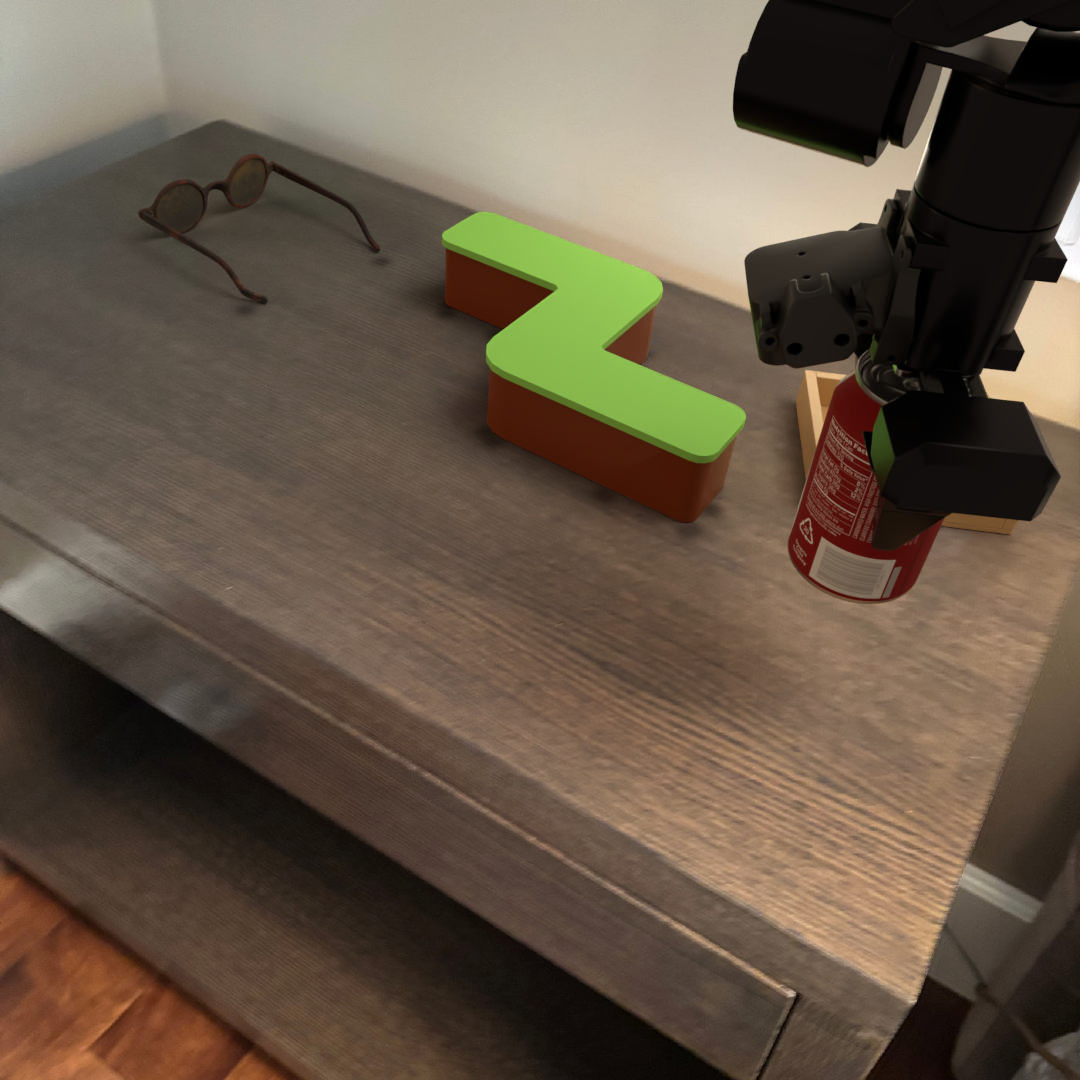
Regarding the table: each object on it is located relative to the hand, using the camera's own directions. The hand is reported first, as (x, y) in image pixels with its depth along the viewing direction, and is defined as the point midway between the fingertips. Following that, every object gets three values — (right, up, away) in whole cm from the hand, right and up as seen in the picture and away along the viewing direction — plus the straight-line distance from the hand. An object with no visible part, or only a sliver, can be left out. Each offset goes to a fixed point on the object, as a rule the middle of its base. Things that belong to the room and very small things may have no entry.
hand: (871, 498), depth 51 cm
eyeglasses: (-40, +23, +39) cm, 61 cm away
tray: (+9, +3, +23) cm, 25 cm away
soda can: (0, -4, +3) cm, 5 cm away
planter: (-14, +10, +27) cm, 32 cm away
